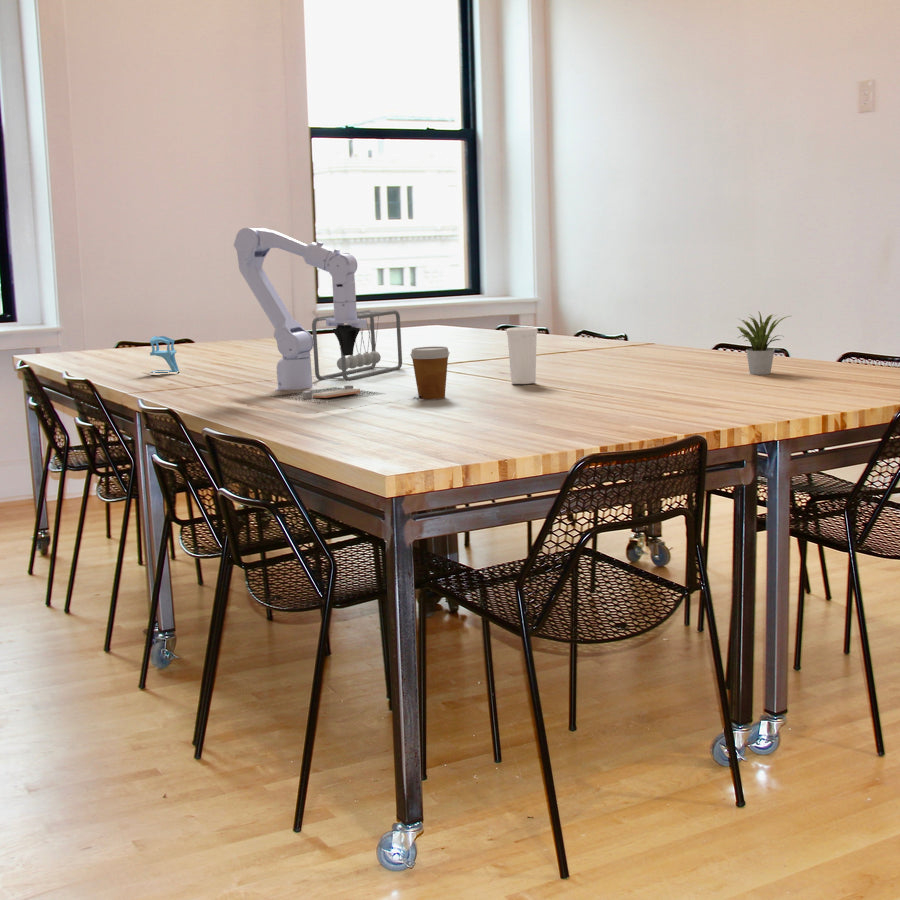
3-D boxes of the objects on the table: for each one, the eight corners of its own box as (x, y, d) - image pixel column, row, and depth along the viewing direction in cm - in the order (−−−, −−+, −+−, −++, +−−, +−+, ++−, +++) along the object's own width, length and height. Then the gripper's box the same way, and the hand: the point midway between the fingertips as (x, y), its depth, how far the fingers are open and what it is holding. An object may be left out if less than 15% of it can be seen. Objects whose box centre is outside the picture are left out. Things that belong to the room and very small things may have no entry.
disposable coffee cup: (417, 401, 262) (415, 351, 260) (408, 396, 271) (405, 348, 269) (456, 398, 264) (454, 348, 262) (445, 394, 273) (443, 345, 271)
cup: (537, 385, 281) (535, 329, 278) (505, 386, 283) (503, 330, 280) (541, 381, 289) (539, 326, 286) (510, 382, 291) (508, 327, 288)
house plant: (787, 369, 292) (788, 306, 289) (798, 375, 279) (799, 310, 276) (732, 370, 294) (732, 308, 291) (740, 377, 280) (741, 312, 277)
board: (269, 400, 275) (268, 390, 274) (335, 390, 288) (334, 380, 287) (319, 408, 258) (318, 397, 258) (387, 397, 271) (386, 387, 271)
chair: (175, 375, 341) (172, 336, 338) (148, 376, 341) (145, 337, 339) (181, 372, 348) (178, 334, 346) (155, 373, 348) (152, 335, 346)
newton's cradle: (345, 382, 306) (341, 317, 303) (314, 381, 311) (310, 317, 308) (403, 369, 331) (400, 309, 328) (374, 368, 336) (370, 309, 333)
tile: (312, 393, 269) (326, 393, 264) (345, 388, 275) (360, 388, 271) (312, 397, 269) (326, 397, 264) (346, 392, 275) (360, 392, 271)
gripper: (315, 302, 284) (318, 355, 286) (349, 303, 273) (352, 358, 276) (337, 300, 288) (340, 352, 291) (371, 301, 278) (374, 355, 280)
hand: (347, 355), depth 284 cm, fingers closed
